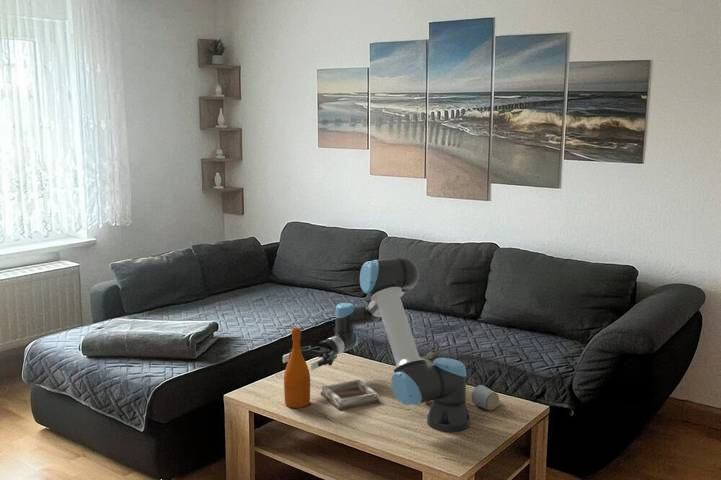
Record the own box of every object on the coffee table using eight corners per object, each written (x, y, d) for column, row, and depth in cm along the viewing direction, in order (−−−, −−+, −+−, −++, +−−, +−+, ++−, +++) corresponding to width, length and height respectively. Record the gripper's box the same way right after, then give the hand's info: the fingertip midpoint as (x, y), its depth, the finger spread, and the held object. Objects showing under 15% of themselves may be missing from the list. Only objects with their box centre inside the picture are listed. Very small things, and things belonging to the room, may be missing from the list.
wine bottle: (312, 399, 293) (311, 324, 288) (308, 409, 284) (307, 332, 278) (287, 398, 294) (285, 323, 289) (282, 408, 285) (280, 331, 279)
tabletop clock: (452, 407, 286) (454, 343, 281) (432, 412, 281) (434, 347, 277) (430, 394, 298) (431, 333, 293) (411, 399, 294) (411, 337, 289)
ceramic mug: (486, 413, 280) (487, 393, 279) (470, 406, 287) (471, 386, 285) (506, 407, 287) (507, 387, 285) (490, 400, 293) (491, 381, 292)
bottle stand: (379, 402, 290) (379, 393, 290) (338, 410, 283) (338, 401, 282) (359, 387, 305) (359, 379, 305) (320, 394, 298) (320, 386, 297)
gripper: (356, 362, 298) (324, 379, 281) (306, 351, 312) (272, 365, 295) (356, 344, 297) (323, 359, 280) (306, 333, 311) (271, 347, 293)
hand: (297, 362), depth 287 cm, fingers open, 13 cm apart
